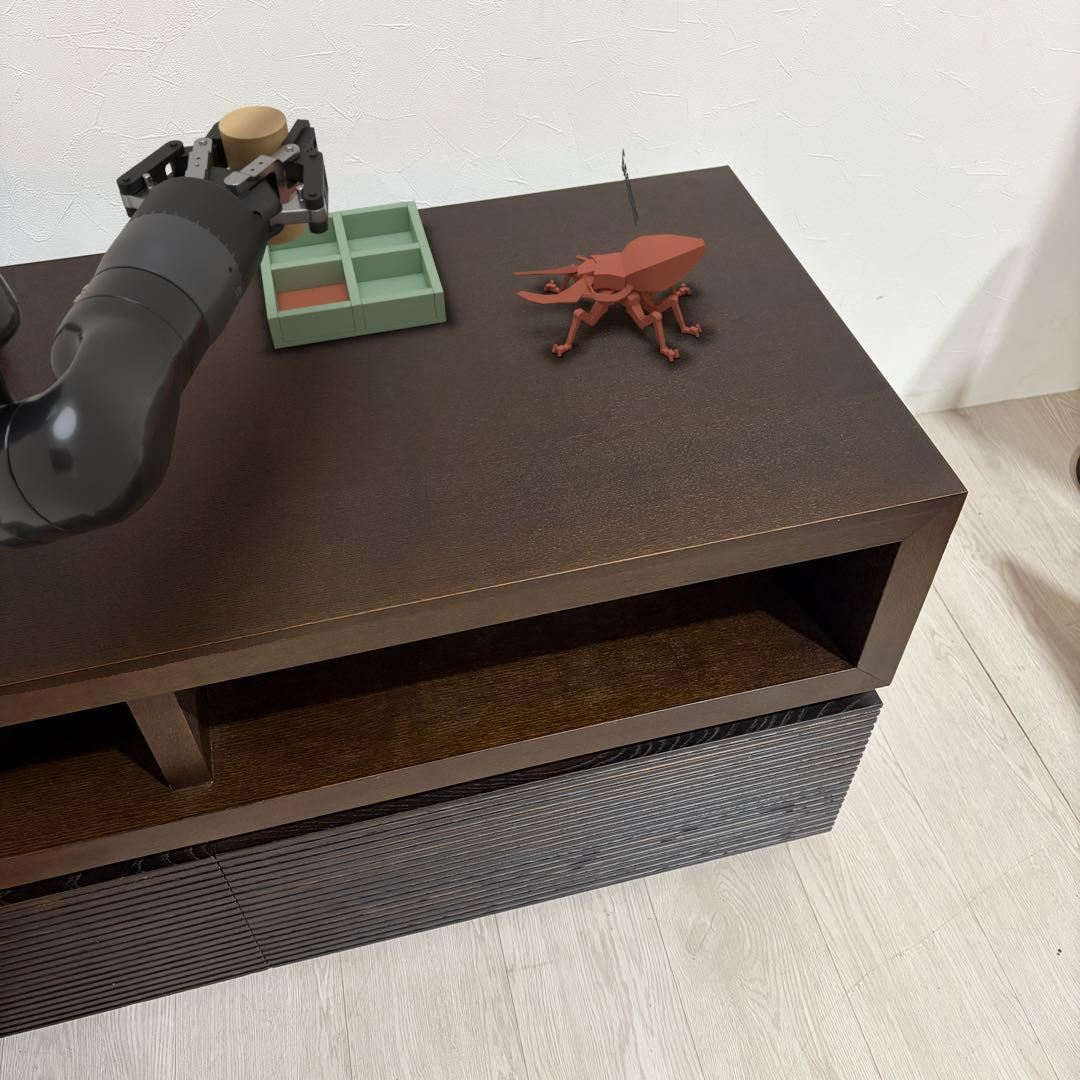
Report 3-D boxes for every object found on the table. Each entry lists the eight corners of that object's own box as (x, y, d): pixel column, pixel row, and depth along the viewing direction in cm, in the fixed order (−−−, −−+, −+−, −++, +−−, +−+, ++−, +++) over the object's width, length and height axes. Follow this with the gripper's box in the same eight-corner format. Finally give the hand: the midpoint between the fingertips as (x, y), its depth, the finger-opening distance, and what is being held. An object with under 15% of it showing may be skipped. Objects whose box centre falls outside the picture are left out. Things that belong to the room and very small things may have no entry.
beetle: (685, 269, 95) (700, 131, 85) (710, 360, 86) (729, 218, 77) (512, 278, 94) (507, 140, 85) (520, 370, 86) (516, 229, 76)
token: (231, 238, 77) (205, 131, 71) (264, 206, 80) (241, 100, 74) (285, 251, 76) (263, 143, 70) (317, 218, 79) (298, 112, 73)
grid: (274, 349, 88) (267, 318, 86) (261, 252, 97) (254, 222, 95) (446, 321, 90) (443, 291, 88) (417, 229, 99) (414, 200, 97)
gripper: (283, 226, 61) (364, 82, 72) (42, 206, 62) (158, 69, 74) (306, 335, 66) (378, 186, 78) (84, 314, 68) (186, 171, 79)
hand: (270, 130), depth 75 cm, fingers closed on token, 4 cm apart
